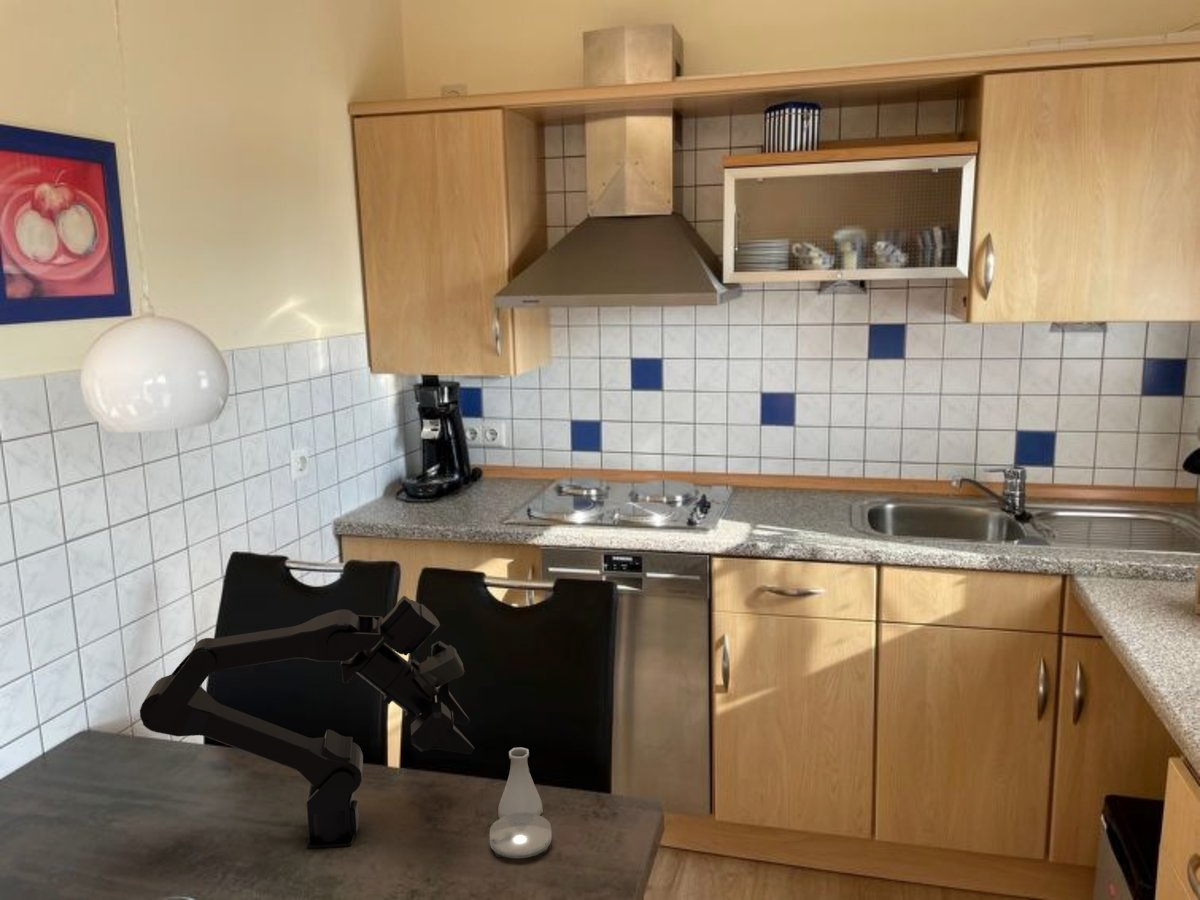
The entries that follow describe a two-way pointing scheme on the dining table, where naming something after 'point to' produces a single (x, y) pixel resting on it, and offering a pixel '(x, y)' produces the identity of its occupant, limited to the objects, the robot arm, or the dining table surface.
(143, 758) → the dining table surface
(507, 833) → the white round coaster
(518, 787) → the flask
